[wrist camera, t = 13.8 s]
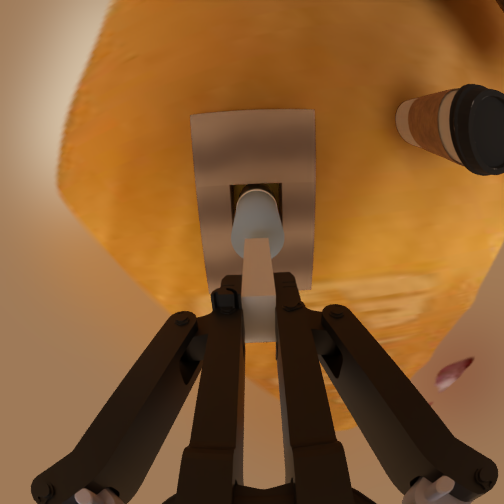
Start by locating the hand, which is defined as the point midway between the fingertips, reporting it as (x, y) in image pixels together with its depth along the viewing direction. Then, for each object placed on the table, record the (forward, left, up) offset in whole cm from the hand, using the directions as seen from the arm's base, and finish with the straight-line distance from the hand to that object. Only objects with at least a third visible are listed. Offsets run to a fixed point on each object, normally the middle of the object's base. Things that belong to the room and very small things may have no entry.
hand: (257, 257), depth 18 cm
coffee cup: (-10, +20, -15) cm, 27 cm away
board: (0, 0, -15) cm, 15 cm away
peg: (0, 0, -15) cm, 15 cm away
